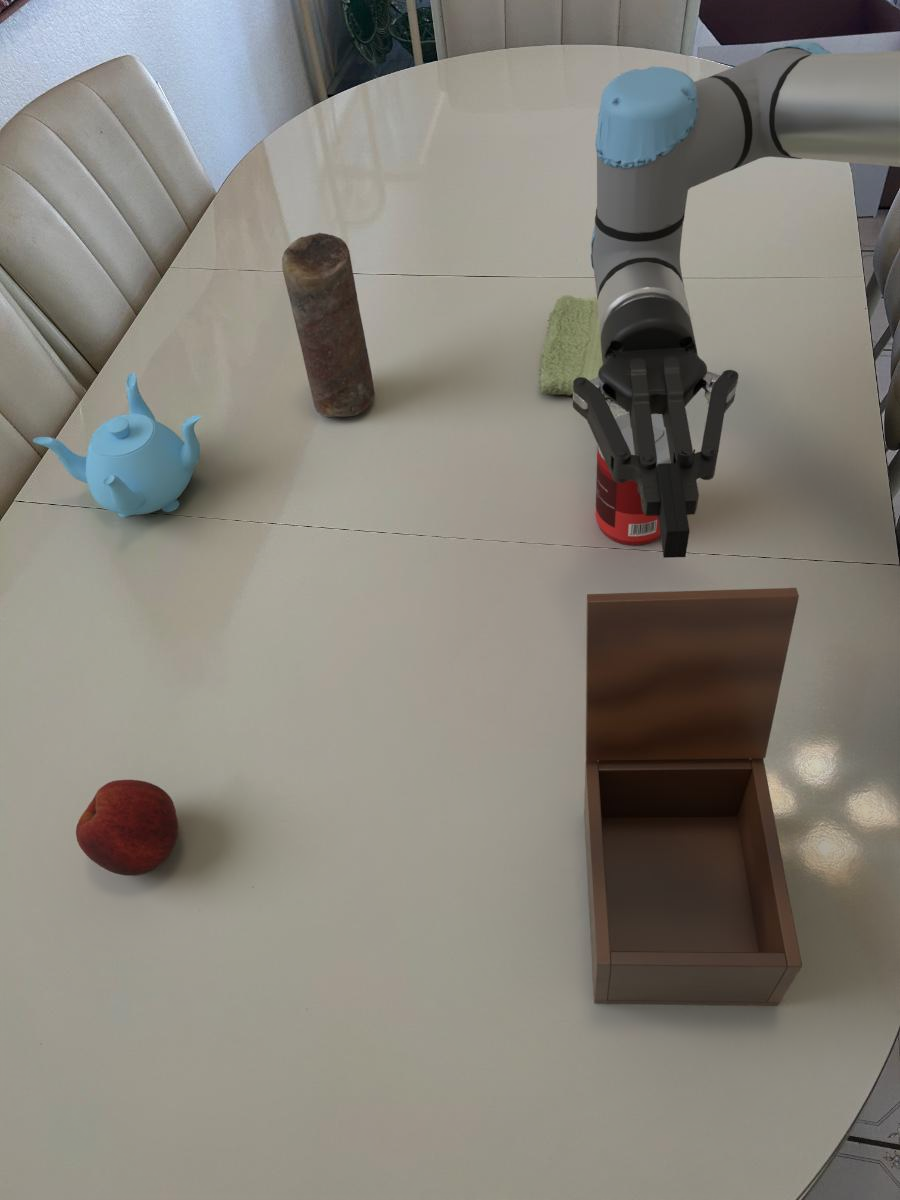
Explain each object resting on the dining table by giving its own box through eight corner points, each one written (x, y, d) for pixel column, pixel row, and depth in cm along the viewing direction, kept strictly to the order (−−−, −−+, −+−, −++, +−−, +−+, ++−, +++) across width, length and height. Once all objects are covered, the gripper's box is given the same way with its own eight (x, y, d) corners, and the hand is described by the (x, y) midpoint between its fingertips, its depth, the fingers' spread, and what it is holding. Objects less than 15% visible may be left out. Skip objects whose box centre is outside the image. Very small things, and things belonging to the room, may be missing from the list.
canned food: (688, 513, 95) (700, 431, 86) (641, 560, 92) (648, 480, 83) (627, 480, 99) (632, 399, 90) (579, 524, 96) (581, 444, 87)
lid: (799, 595, 57) (796, 587, 57) (587, 602, 58) (586, 593, 59) (765, 758, 67) (763, 750, 68) (585, 761, 68) (585, 752, 69)
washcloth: (656, 313, 116) (658, 291, 114) (645, 407, 106) (647, 384, 103) (551, 310, 119) (551, 287, 116) (530, 400, 108) (529, 378, 106)
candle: (384, 385, 113) (355, 232, 97) (371, 426, 108) (338, 272, 93) (324, 383, 114) (285, 231, 98) (308, 423, 110) (265, 271, 94)
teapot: (230, 484, 105) (203, 415, 97) (135, 555, 99) (98, 488, 91) (161, 438, 111) (130, 369, 103) (69, 503, 105) (28, 435, 97)
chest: (778, 1006, 66) (802, 966, 59) (594, 1003, 67) (597, 965, 60) (745, 811, 75) (763, 757, 68) (584, 812, 76) (585, 759, 69)
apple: (135, 793, 81) (99, 747, 75) (210, 821, 79) (179, 777, 73) (84, 870, 77) (42, 829, 71) (162, 902, 75) (125, 863, 69)
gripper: (719, 364, 80) (765, 576, 66) (566, 372, 82) (579, 582, 67) (731, 287, 74) (785, 502, 60) (566, 297, 76) (580, 510, 61)
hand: (676, 544), depth 63 cm, fingers closed
